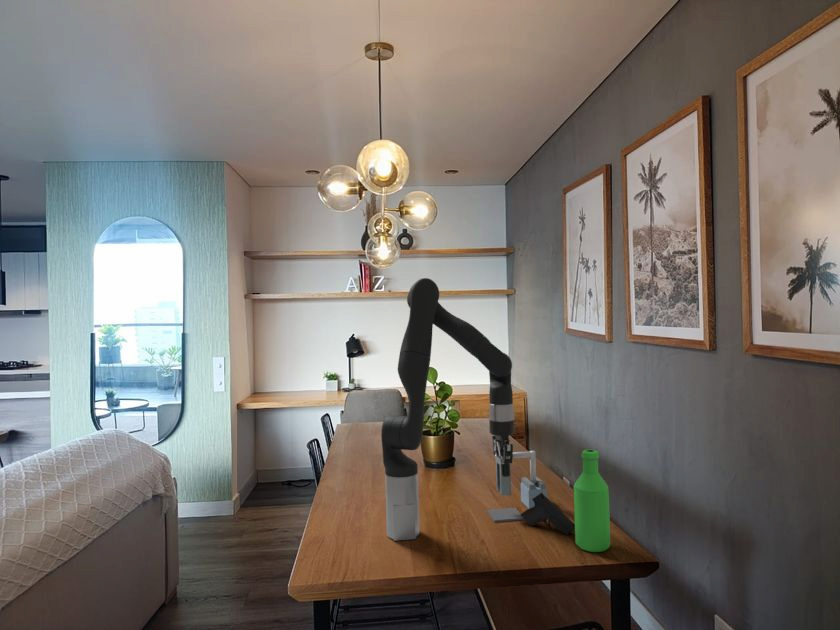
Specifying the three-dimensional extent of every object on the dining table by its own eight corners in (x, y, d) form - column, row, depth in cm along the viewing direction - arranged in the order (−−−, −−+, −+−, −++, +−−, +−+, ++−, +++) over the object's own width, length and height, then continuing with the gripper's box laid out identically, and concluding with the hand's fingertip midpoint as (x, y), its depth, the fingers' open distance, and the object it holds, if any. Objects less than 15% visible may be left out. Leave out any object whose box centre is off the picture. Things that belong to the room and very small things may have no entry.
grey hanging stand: (547, 507, 172) (545, 447, 173) (507, 510, 171) (506, 449, 171) (538, 499, 180) (537, 441, 180) (500, 502, 179) (499, 443, 179)
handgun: (524, 513, 162) (541, 489, 158) (559, 548, 155) (578, 524, 151) (519, 515, 160) (536, 491, 156) (555, 552, 153) (574, 528, 149)
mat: (523, 519, 163) (523, 517, 163) (494, 522, 161) (494, 520, 161) (514, 509, 172) (514, 507, 172) (486, 511, 170) (486, 509, 170)
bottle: (587, 555, 137) (584, 456, 138) (568, 542, 146) (566, 448, 146) (617, 550, 140) (614, 453, 140) (597, 538, 148) (595, 445, 148)
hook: (511, 495, 164) (510, 458, 164) (501, 495, 164) (500, 459, 164) (505, 489, 170) (504, 454, 170) (496, 490, 169) (495, 454, 169)
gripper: (521, 421, 160) (522, 479, 160) (506, 413, 175) (507, 466, 175) (496, 423, 159) (497, 481, 159) (483, 414, 174) (485, 467, 174)
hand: (503, 473), depth 167 cm, fingers closed on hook, 5 cm apart
